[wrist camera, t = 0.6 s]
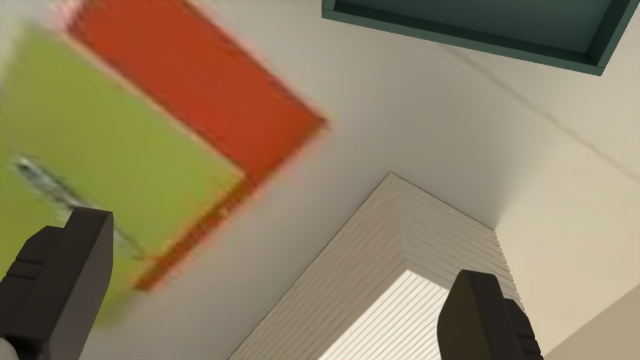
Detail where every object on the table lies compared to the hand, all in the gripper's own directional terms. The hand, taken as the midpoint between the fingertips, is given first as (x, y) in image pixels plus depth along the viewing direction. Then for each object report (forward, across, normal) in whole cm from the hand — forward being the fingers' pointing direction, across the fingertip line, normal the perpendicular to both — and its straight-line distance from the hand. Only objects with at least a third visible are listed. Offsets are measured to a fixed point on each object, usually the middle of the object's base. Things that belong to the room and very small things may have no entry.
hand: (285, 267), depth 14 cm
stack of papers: (+28, -8, +31) cm, 42 cm away
